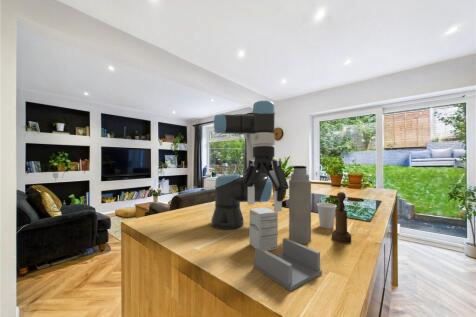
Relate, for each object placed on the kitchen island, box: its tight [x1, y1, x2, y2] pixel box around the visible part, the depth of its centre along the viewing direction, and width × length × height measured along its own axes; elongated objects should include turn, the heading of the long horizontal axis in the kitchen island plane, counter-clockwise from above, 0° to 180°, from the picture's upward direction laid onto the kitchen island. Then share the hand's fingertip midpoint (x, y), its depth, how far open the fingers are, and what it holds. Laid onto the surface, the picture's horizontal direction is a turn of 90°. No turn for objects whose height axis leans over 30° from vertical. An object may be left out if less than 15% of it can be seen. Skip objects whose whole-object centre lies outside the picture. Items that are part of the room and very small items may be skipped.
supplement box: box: [248, 207, 279, 252], centre depth 70 cm, size 7×7×13 cm
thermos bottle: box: [288, 165, 312, 245], centre depth 77 cm, size 8×8×28 cm
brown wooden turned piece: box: [331, 191, 352, 244], centre depth 77 cm, size 7×6×18 cm
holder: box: [253, 237, 323, 292], centre depth 54 cm, size 13×12×6 cm
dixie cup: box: [316, 202, 338, 229], centre depth 92 cm, size 8×8×10 cm
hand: (263, 207), depth 69 cm, fingers open, 13 cm apart
